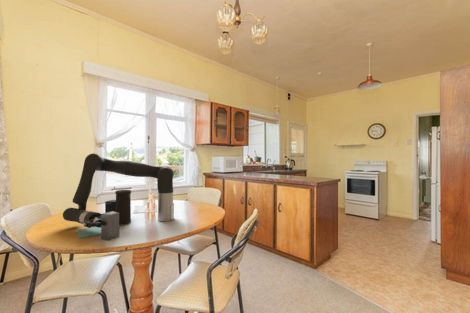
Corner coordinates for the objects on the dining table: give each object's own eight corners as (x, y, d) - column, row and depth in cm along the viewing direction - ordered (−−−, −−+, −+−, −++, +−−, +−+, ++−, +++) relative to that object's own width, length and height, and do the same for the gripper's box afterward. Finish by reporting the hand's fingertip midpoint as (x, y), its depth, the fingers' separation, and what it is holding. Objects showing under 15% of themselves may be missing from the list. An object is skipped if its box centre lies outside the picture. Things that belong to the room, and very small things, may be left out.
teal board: (105, 226, 129) (105, 225, 129) (109, 232, 119) (109, 231, 119) (77, 231, 121) (77, 229, 121) (79, 238, 111) (79, 236, 111)
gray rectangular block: (112, 234, 116) (112, 211, 116) (119, 236, 113) (119, 212, 113) (101, 238, 111) (101, 213, 111) (108, 240, 108) (108, 215, 108)
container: (134, 221, 139) (134, 189, 139) (122, 226, 130) (122, 191, 130) (123, 220, 142) (123, 188, 142) (111, 224, 133) (111, 190, 133)
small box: (130, 218, 147) (130, 199, 147) (124, 221, 140) (124, 202, 140) (111, 217, 148) (111, 199, 148) (104, 220, 141) (104, 201, 141)
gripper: (76, 214, 114) (94, 218, 106) (104, 208, 126) (122, 212, 119) (76, 229, 114) (94, 235, 106) (104, 222, 127) (122, 226, 119)
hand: (109, 223), depth 112 cm, fingers open, 8 cm apart
